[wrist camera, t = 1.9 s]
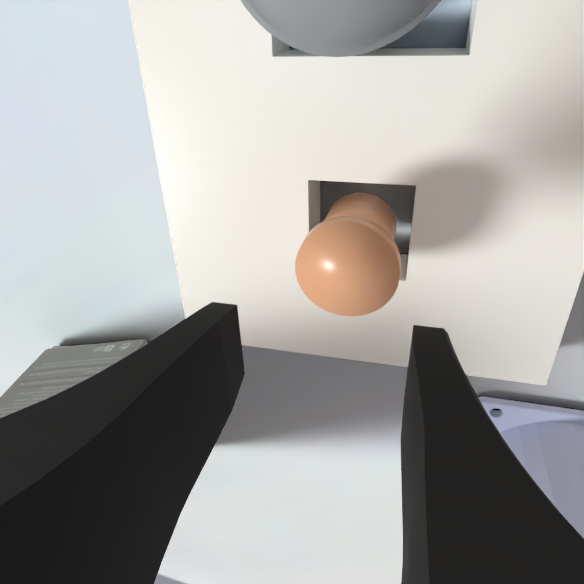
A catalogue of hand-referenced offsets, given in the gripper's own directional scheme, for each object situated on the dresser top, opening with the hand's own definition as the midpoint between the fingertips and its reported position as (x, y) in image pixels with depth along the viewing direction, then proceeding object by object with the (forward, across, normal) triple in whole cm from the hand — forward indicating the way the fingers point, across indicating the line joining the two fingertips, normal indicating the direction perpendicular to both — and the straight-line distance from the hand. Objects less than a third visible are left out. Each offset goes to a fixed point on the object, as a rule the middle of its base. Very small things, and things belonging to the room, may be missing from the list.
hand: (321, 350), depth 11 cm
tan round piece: (+7, 0, 0) cm, 7 cm away
